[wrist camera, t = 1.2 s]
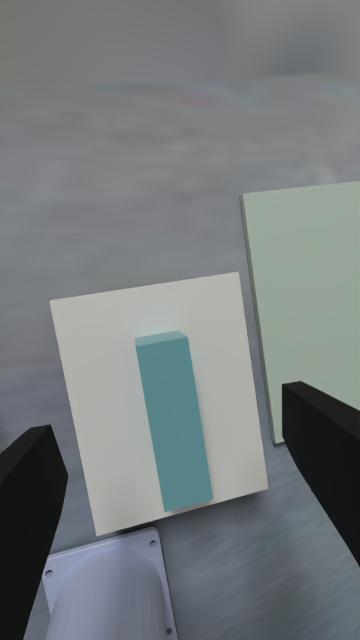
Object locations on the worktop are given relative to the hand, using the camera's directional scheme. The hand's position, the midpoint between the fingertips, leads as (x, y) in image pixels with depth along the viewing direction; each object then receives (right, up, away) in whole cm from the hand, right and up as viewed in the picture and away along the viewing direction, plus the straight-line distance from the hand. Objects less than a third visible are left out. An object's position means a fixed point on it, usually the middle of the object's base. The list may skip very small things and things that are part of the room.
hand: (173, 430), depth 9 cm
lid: (-1, -1, +9) cm, 9 cm away
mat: (+12, +4, +13) cm, 18 cm away
